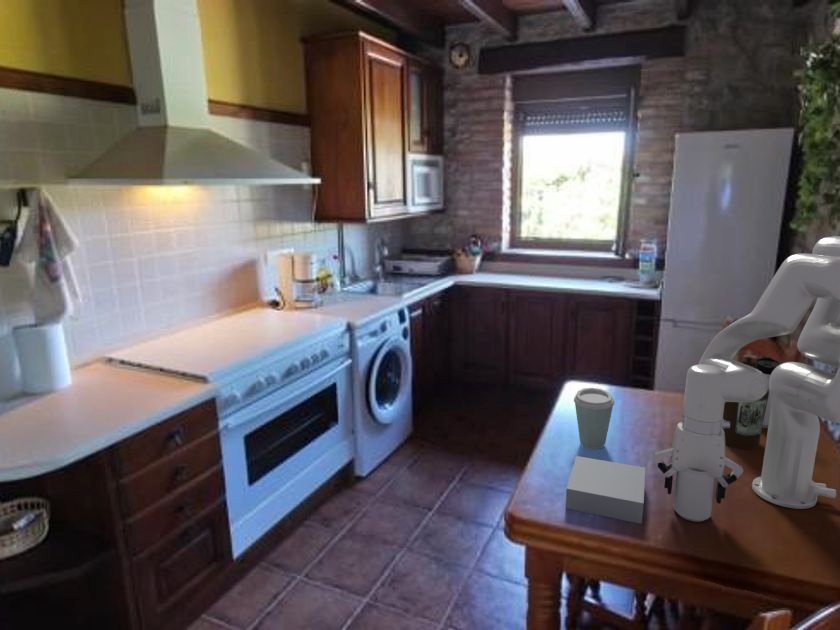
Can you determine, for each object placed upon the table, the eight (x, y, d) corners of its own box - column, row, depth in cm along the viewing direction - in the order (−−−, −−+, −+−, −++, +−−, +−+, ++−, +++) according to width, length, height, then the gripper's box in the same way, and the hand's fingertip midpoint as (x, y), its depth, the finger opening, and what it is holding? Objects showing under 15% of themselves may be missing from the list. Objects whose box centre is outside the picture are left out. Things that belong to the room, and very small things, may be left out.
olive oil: (711, 432, 159) (720, 350, 153) (749, 433, 158) (760, 350, 152) (728, 450, 149) (739, 362, 143) (769, 451, 148) (782, 362, 142)
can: (678, 500, 126) (683, 452, 124) (714, 511, 122) (720, 462, 119) (668, 515, 121) (673, 466, 118) (705, 528, 116) (712, 477, 113)
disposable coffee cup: (614, 454, 148) (618, 402, 144) (573, 451, 150) (575, 400, 146) (608, 436, 158) (611, 387, 154) (569, 434, 160) (572, 385, 156)
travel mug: (771, 422, 165) (781, 358, 161) (771, 430, 160) (781, 365, 155) (747, 417, 169) (756, 355, 164) (746, 425, 163) (755, 361, 158)
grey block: (643, 486, 132) (645, 467, 131) (641, 524, 118) (643, 503, 117) (575, 474, 138) (576, 455, 137) (565, 508, 124) (566, 488, 123)
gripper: (746, 422, 116) (736, 494, 120) (657, 410, 123) (650, 479, 127) (751, 437, 110) (740, 513, 114) (657, 424, 116) (650, 496, 120)
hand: (693, 495), depth 120 cm, fingers open, 9 cm apart
